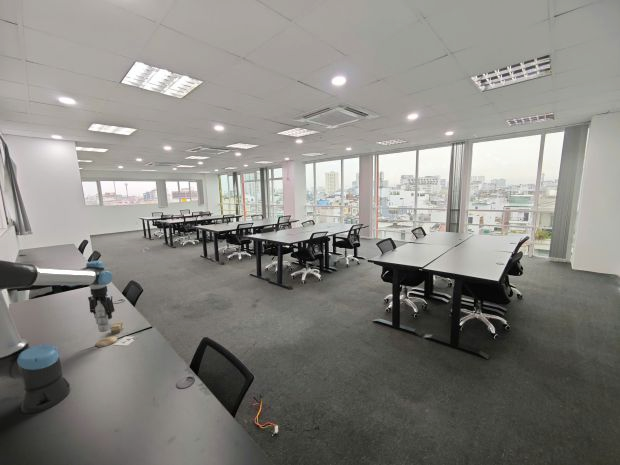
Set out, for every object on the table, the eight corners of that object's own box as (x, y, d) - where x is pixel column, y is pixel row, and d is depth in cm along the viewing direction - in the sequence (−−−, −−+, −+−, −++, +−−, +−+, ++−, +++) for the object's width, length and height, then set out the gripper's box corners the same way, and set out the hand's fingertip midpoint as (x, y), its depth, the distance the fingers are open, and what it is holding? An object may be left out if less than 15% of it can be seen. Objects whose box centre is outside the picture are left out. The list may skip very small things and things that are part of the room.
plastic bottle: (106, 333, 150) (101, 301, 147) (95, 333, 150) (90, 301, 147) (115, 327, 156) (110, 297, 153) (104, 327, 156) (99, 297, 153)
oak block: (120, 332, 165) (119, 325, 164) (111, 333, 163) (110, 326, 163) (123, 328, 169) (122, 321, 169) (115, 329, 168) (114, 322, 167)
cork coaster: (107, 347, 149) (107, 346, 149) (91, 346, 150) (91, 345, 150) (121, 337, 159) (121, 336, 159) (106, 337, 160) (106, 336, 160)
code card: (127, 345, 150) (127, 345, 150) (113, 345, 151) (113, 344, 151) (138, 337, 159) (138, 337, 159) (125, 336, 160) (125, 336, 160)
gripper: (119, 285, 151) (124, 320, 155) (89, 284, 153) (95, 319, 157) (107, 289, 144) (113, 327, 148) (77, 289, 146) (83, 326, 150)
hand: (104, 323), depth 152 cm, fingers closed on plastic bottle, 6 cm apart
